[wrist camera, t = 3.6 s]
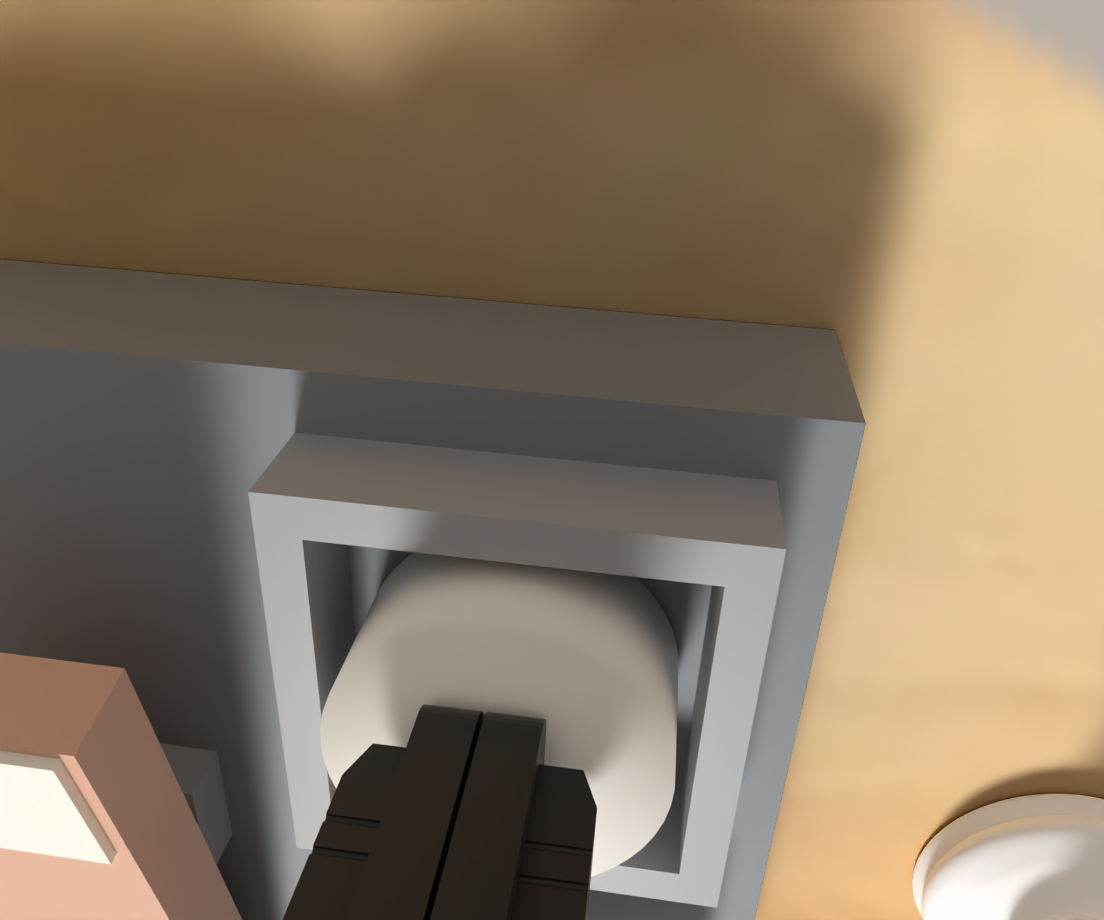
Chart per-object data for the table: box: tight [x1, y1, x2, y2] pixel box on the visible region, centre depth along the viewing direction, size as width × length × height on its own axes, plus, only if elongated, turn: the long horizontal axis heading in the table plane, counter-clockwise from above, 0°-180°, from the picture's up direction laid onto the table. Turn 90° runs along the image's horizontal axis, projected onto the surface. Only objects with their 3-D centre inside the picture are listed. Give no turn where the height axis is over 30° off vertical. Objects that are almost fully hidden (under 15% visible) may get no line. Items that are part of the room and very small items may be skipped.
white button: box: [320, 552, 679, 877], centre depth 13 cm, size 4×4×2 cm
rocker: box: [0, 653, 242, 920], centre depth 15 cm, size 5×10×1 cm, turn 178°
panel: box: [0, 259, 866, 920], centre depth 17 cm, size 14×16×4 cm
